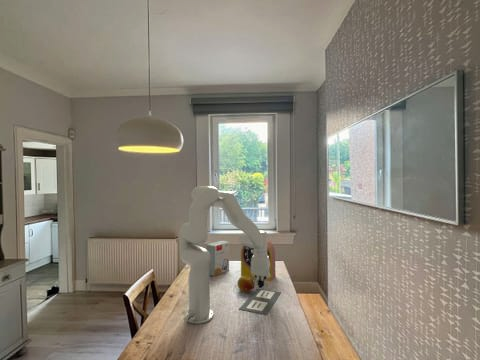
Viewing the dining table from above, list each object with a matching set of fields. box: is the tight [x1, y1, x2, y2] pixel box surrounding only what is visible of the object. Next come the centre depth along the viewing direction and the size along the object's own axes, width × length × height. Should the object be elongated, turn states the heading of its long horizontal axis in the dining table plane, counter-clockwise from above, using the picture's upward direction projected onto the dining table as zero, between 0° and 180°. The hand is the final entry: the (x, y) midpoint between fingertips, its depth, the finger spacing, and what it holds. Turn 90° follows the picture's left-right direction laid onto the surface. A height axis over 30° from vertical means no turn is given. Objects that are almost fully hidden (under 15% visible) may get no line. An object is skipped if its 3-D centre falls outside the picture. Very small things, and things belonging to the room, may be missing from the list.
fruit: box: [237, 275, 255, 293], centre depth 146 cm, size 10×9×8 cm
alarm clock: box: [240, 238, 277, 281], centre depth 168 cm, size 21×9×26 cm, turn 67°
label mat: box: [238, 287, 282, 316], centre depth 134 cm, size 26×14×1 cm, turn 157°
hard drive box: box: [206, 240, 230, 277], centre depth 177 cm, size 16×8×20 cm, turn 143°
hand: (261, 287), depth 141 cm, fingers closed
